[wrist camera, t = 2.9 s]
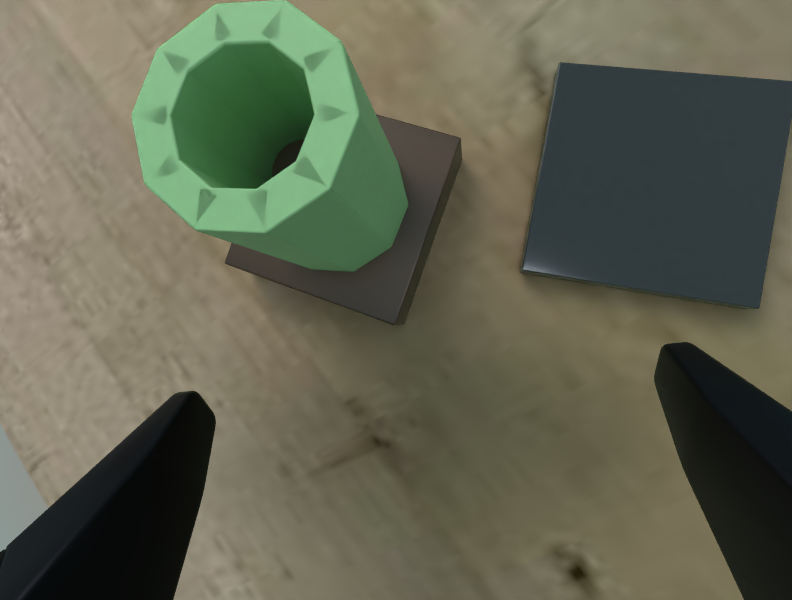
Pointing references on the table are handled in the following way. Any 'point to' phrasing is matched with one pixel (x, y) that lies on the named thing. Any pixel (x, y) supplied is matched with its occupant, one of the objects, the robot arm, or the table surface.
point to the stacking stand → (402, 263)
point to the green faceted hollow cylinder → (269, 138)
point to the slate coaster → (659, 182)
